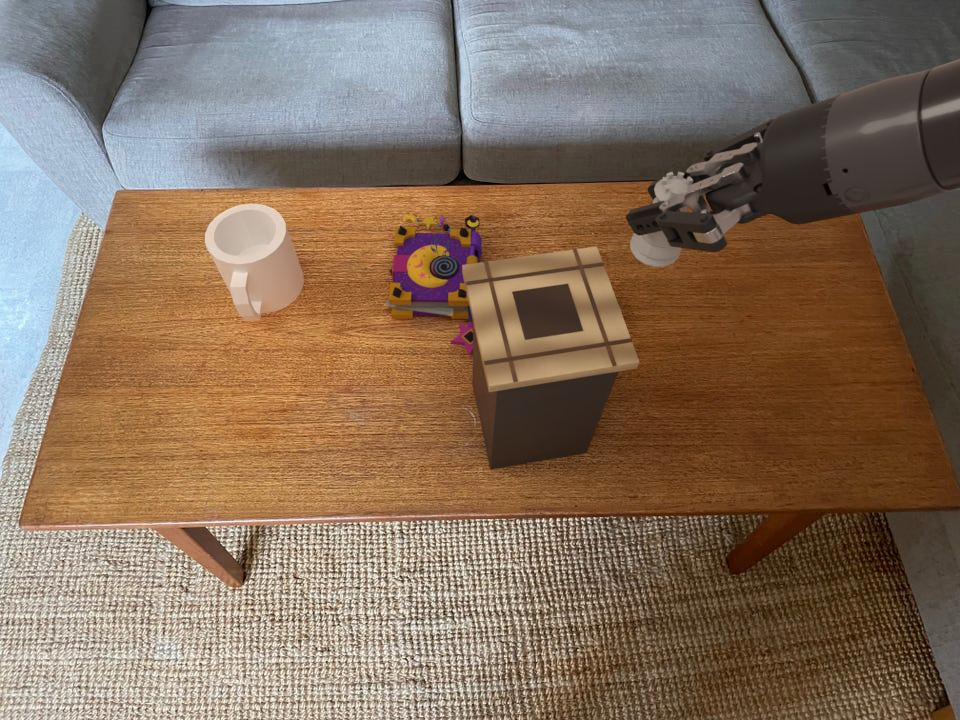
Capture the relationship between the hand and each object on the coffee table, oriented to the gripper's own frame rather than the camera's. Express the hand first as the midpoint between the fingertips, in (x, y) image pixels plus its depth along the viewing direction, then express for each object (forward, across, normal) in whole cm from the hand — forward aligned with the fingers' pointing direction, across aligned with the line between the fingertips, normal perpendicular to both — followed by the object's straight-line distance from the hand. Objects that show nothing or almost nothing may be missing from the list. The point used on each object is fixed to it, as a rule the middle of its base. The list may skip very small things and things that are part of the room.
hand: (643, 209), depth 55 cm
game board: (+11, +7, +5) cm, 14 cm away
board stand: (+27, +7, +21) cm, 35 cm away
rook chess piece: (+2, 0, +4) cm, 5 cm away
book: (+42, -3, +6) cm, 42 cm away
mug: (+56, +11, -8) cm, 58 cm away
